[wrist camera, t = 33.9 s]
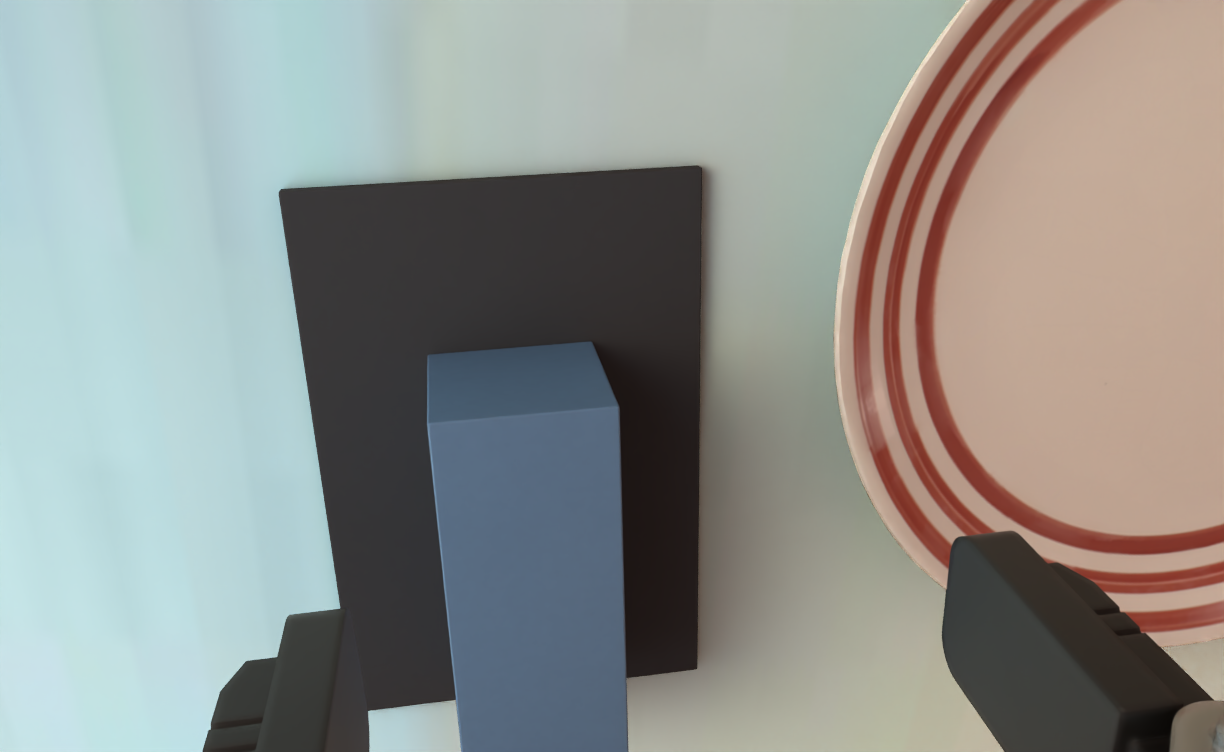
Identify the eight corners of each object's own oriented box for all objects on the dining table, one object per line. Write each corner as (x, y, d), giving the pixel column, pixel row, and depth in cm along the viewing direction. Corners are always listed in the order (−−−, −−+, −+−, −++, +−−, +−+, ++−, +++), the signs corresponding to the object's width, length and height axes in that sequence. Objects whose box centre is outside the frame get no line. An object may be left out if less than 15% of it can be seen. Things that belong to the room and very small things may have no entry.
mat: (698, 165, 31) (702, 167, 30) (694, 662, 37) (697, 669, 37) (280, 189, 29) (277, 192, 28) (356, 705, 36) (355, 712, 35)
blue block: (464, 786, 31) (426, 423, 26) (460, 678, 36) (427, 354, 31) (628, 763, 32) (619, 406, 27) (604, 660, 36) (592, 340, 32)
